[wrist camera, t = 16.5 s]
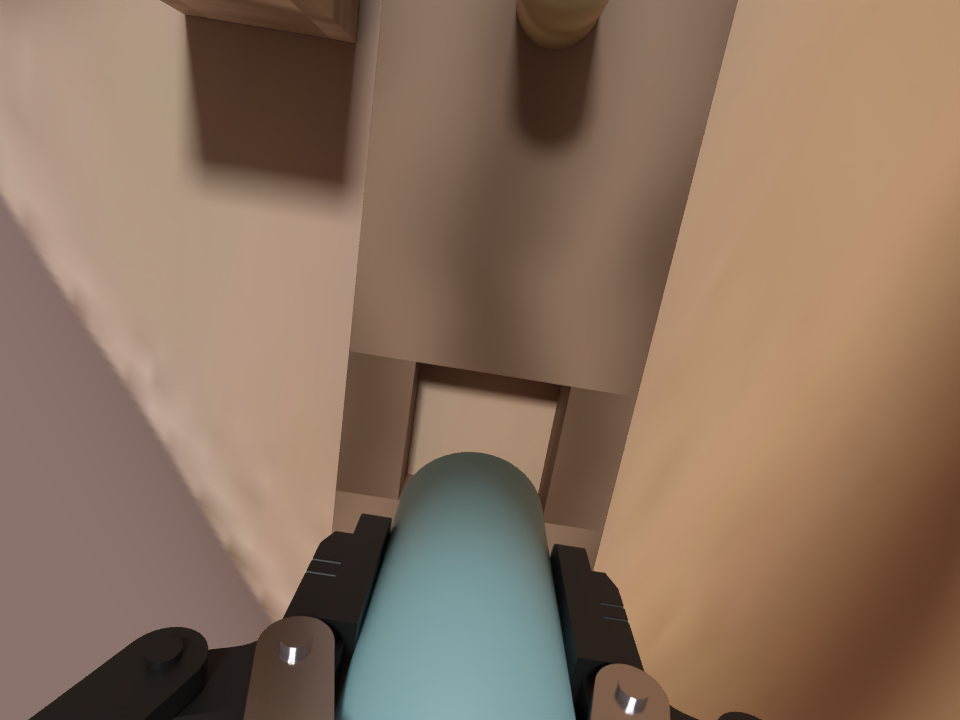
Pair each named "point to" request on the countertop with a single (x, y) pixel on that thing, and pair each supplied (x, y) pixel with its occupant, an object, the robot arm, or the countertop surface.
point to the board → (522, 224)
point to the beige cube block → (282, 15)
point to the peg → (462, 605)
